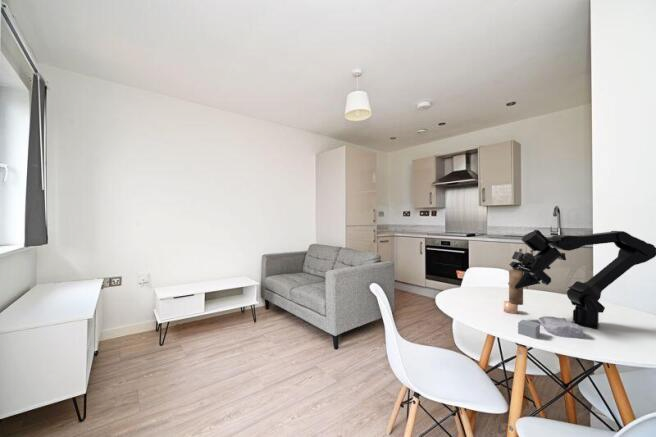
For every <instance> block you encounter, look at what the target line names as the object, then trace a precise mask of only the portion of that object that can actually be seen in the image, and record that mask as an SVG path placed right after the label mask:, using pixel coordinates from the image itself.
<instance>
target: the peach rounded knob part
mask: <svg viewBox="0 0 656 437" xmlns="http://www.w3.org/2000/svg"><path fill="white" fill-rule="evenodd" d="M518 306H519V305H515V304H511V303H509V300H506V301H503V312H504V313H507V314H509V315H510V314H511V315H517V314H519V312H518V310H519V307H518Z"/></svg>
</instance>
